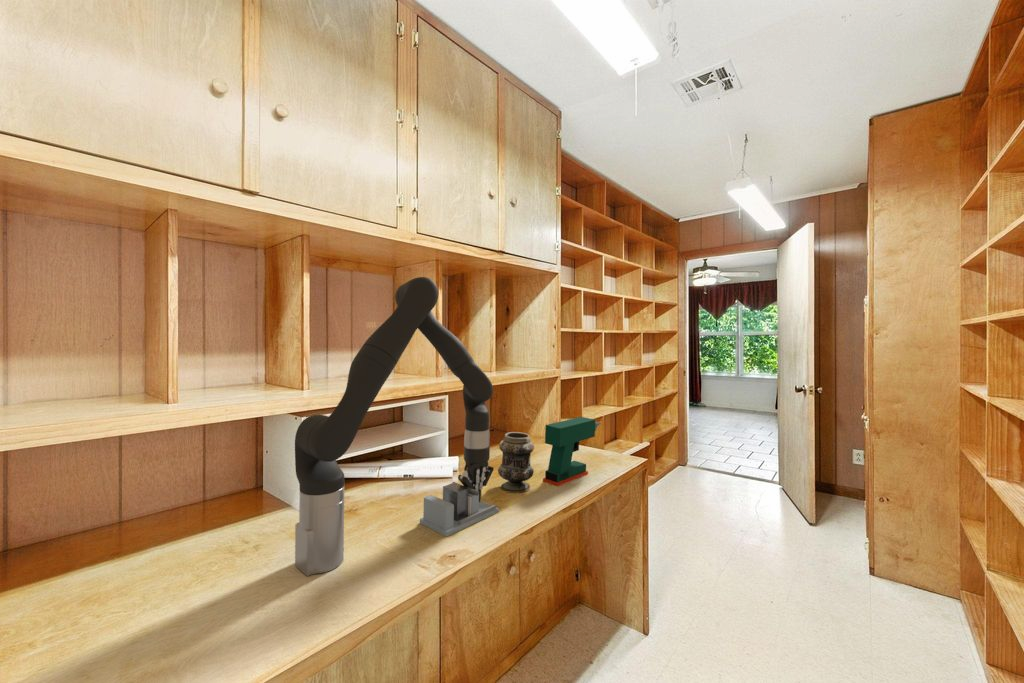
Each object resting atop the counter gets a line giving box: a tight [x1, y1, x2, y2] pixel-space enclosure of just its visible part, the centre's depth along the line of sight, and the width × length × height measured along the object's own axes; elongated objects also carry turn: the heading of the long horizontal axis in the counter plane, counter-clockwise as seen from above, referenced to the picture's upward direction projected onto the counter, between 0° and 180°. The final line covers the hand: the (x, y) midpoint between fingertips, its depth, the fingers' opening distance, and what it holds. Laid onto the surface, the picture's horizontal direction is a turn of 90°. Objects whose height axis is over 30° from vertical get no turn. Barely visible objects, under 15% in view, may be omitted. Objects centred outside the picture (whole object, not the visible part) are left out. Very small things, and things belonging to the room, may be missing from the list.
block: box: [442, 482, 468, 521], centre depth 119 cm, size 4×6×8 cm, turn 50°
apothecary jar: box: [497, 431, 535, 494], centre depth 144 cm, size 12×12×18 cm
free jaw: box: [452, 481, 479, 516], centre depth 121 cm, size 3×10×7 cm, turn 50°
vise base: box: [419, 494, 500, 537], centre depth 120 cm, size 20×11×7 cm, turn 140°
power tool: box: [542, 416, 602, 487], centre depth 159 cm, size 32×7×20 cm, turn 136°
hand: (475, 502), depth 125 cm, fingers closed
